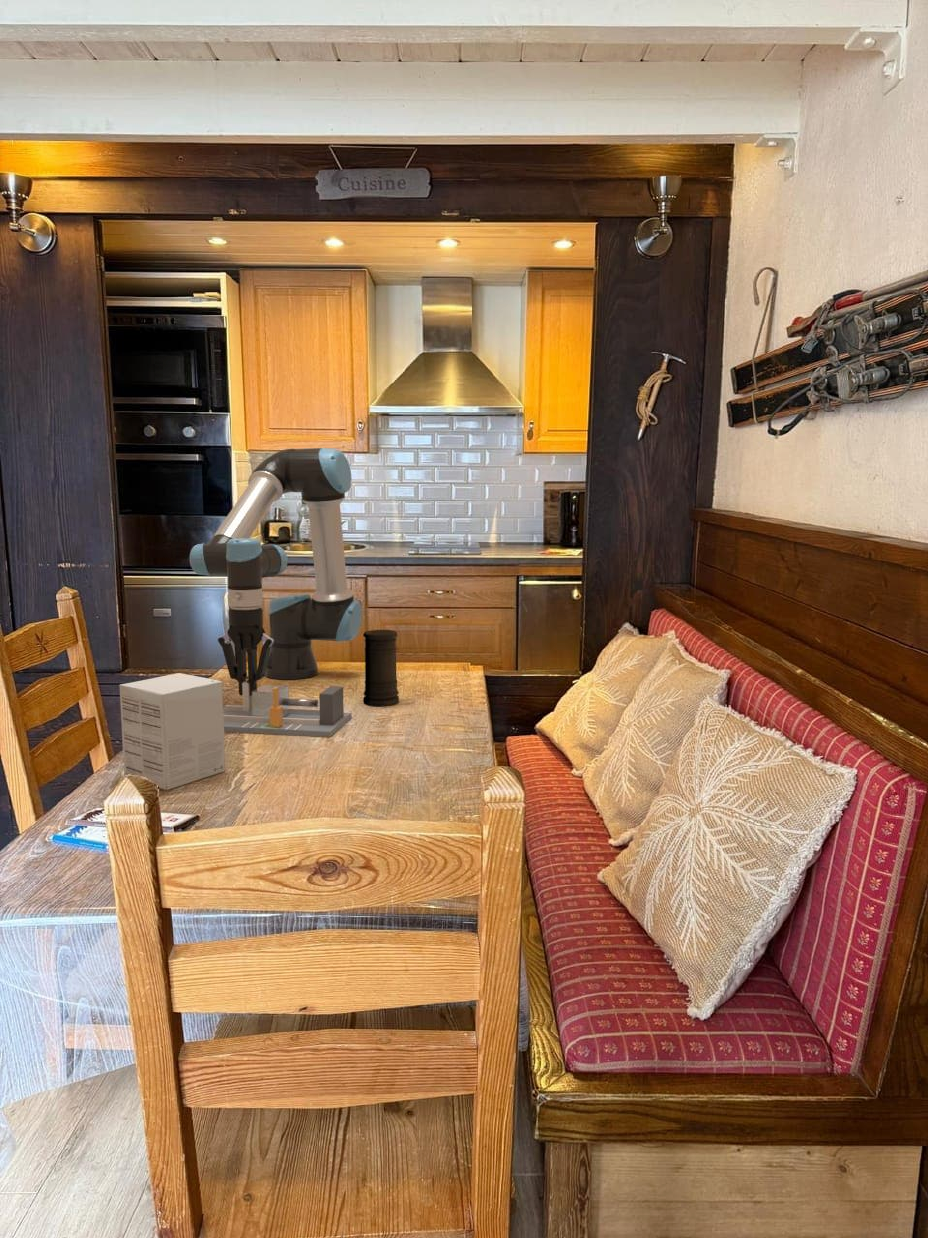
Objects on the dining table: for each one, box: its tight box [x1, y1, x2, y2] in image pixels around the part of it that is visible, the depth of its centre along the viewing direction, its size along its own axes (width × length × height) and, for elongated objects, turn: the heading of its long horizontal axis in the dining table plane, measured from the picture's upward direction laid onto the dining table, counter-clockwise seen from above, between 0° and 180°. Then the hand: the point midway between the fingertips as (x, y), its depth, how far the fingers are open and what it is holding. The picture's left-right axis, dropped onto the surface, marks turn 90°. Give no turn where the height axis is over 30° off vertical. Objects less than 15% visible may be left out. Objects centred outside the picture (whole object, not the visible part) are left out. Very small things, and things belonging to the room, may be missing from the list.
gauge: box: [252, 684, 319, 718], centre depth 188 cm, size 12×14×6 cm
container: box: [362, 629, 400, 707], centre depth 209 cm, size 9×9×18 cm
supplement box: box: [118, 672, 227, 791], centre depth 154 cm, size 13×13×18 cm
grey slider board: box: [223, 685, 353, 738], centre depth 189 cm, size 16×32×8 cm, turn 81°
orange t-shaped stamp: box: [270, 687, 283, 727], centre depth 183 cm, size 2×2×8 cm
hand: (248, 709), depth 192 cm, fingers closed
